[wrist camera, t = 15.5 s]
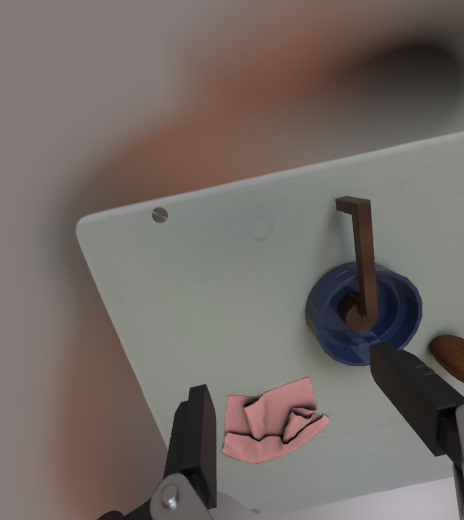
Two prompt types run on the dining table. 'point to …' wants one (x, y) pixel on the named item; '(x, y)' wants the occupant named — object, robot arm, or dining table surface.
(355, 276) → the bowl
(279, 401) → the cloth
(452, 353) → the wooden figurine
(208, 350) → the dining table surface
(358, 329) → the ladle
